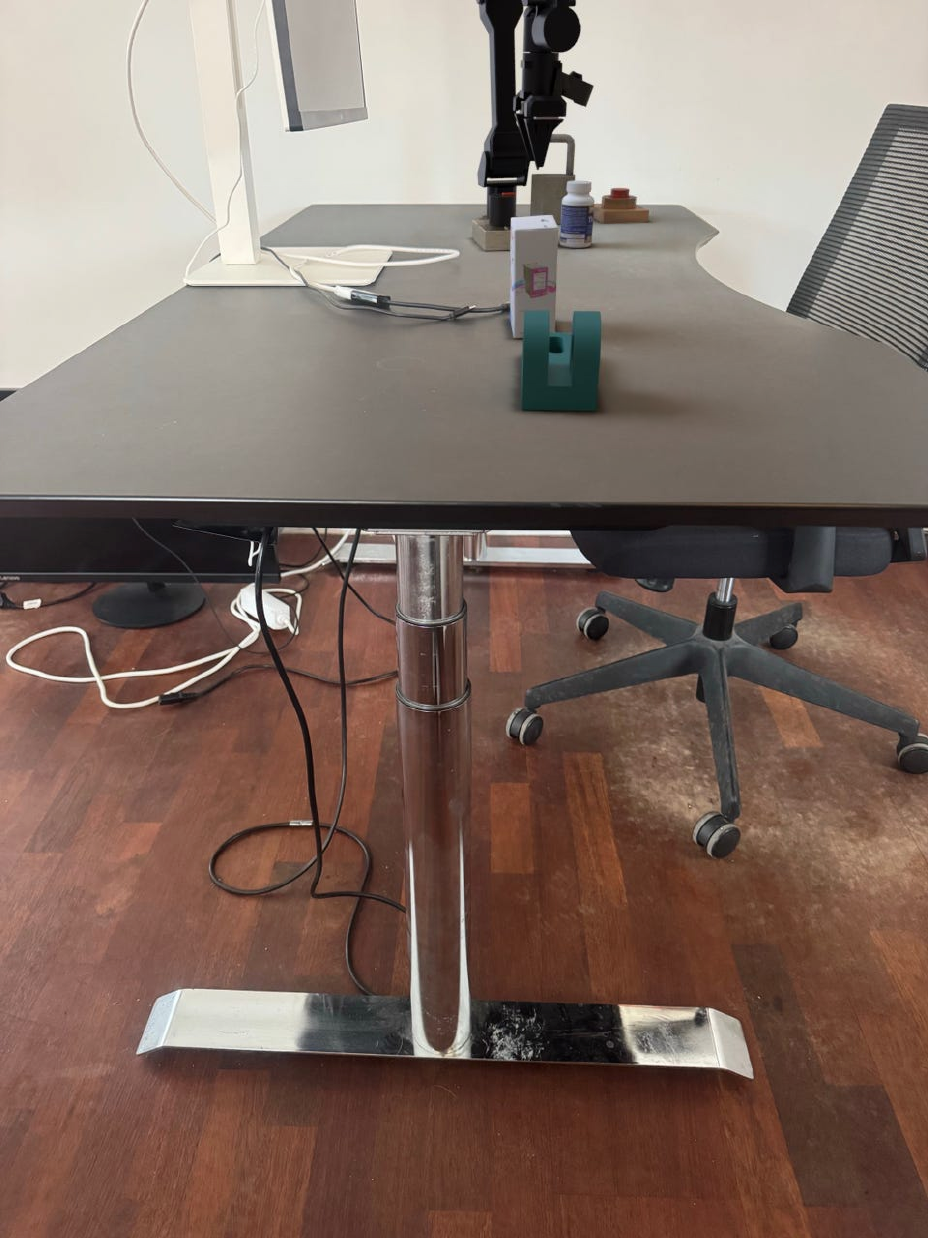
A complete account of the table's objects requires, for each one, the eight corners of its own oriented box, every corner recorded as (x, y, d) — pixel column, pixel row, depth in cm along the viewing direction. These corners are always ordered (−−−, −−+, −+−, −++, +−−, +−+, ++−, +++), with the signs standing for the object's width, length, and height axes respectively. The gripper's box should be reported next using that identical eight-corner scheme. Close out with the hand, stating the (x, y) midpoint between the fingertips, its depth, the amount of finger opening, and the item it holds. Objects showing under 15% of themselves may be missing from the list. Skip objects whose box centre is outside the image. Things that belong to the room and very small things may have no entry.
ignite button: (607, 197, 171) (608, 187, 170) (625, 197, 171) (626, 187, 170) (613, 200, 168) (614, 190, 167) (631, 199, 168) (632, 189, 167)
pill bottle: (592, 248, 145) (597, 183, 140) (560, 248, 146) (564, 183, 140) (589, 242, 150) (594, 179, 145) (558, 242, 150) (561, 179, 145)
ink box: (507, 319, 106) (510, 213, 100) (548, 319, 106) (553, 213, 100) (511, 339, 99) (514, 226, 93) (555, 338, 99) (561, 225, 93)
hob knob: (491, 226, 146) (492, 195, 143) (486, 222, 149) (486, 191, 147) (517, 225, 146) (518, 194, 144) (511, 221, 150) (512, 190, 147)
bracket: (595, 410, 79) (603, 321, 75) (521, 409, 79) (524, 321, 75) (584, 353, 94) (589, 276, 90) (521, 352, 94) (524, 276, 90)
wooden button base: (588, 215, 175) (589, 193, 173) (631, 214, 176) (633, 192, 174) (603, 223, 167) (605, 200, 165) (648, 222, 168) (650, 199, 166)
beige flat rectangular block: (470, 238, 154) (470, 218, 152) (527, 236, 155) (528, 217, 153) (483, 250, 144) (483, 230, 142) (543, 248, 145) (544, 228, 144)
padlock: (530, 220, 170) (533, 132, 162) (572, 221, 169) (577, 133, 161) (529, 224, 167) (532, 134, 158) (572, 224, 166) (578, 134, 158)
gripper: (603, 52, 130) (594, 169, 138) (580, 52, 145) (574, 157, 154) (529, 52, 129) (525, 170, 138) (514, 52, 145) (511, 158, 153)
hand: (536, 163), depth 146 cm, fingers open, 9 cm apart
